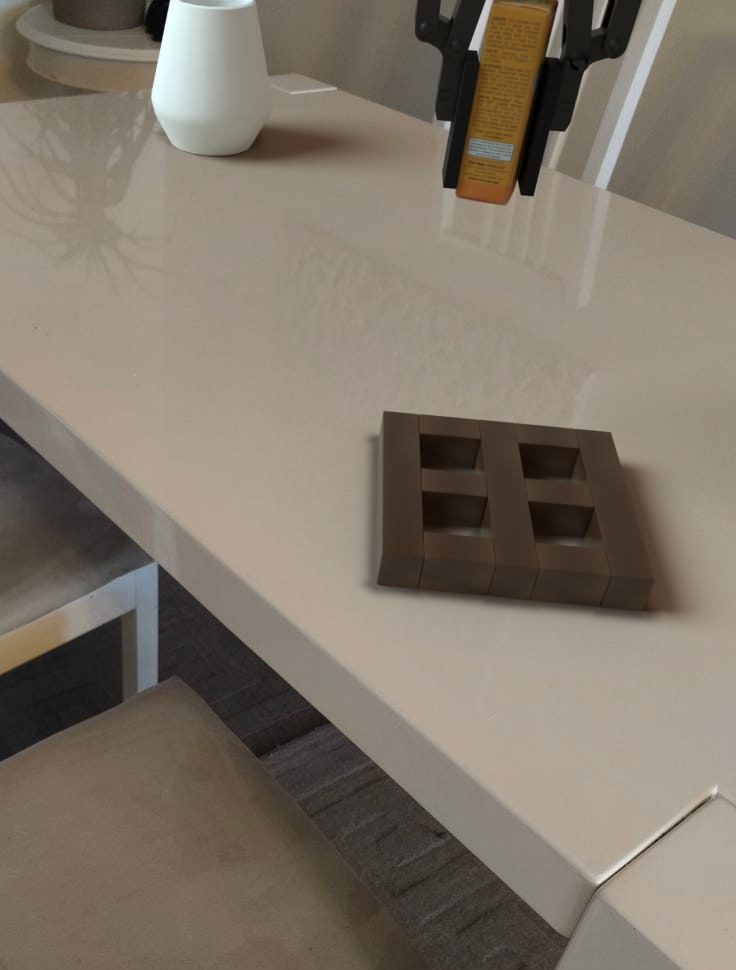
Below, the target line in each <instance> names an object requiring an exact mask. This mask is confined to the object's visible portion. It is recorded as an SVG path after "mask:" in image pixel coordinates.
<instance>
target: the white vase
mask: <svg viewBox="0 0 736 970" xmlns="http://www.w3.org/2000/svg"><path fill="white" fill-rule="evenodd" d="M261 31H262V30H261V25H260V20H259V14H258V8H257V2H256V0H169V4H168V9H167V15H166V19H165V25H164V30H163V35H162V39H161V44H160V49H159V54H158V60H157V63H156V70H155V74H154V79H153V84H152V88H151V96H150V97H151V103H152V108H153V112H154V114H155V116H156V118H157V120H158V122H159V123H160V125H161V127H162V129H163V131H164V132H165V134H166V136H167V138H168V140H169V141H170V142H169V143H171V145H172V146H174V147H175V148H176V149H178V150H180V151H183V152H187V153H190V154H193V155H200V156H208V157H212V156H213V157H215V156H221V157H222V156H223V157H224V156H231V155H238V154H240V153H243V152H245V151H247V150H249V149H250V148H251V147H252V145H253V143H254V142H255V140H256V139H257V137H258V135H259V133H260V132H261V130H262V128H263V127H264V126H265V123H267V121H268V119H269V117H270V115H271V113H272V109H273V97H272V90H271V85H270V79H269V72H268V67H267V61H266V55H265V49H264V44H263V38H262V37H263V36H262V32H261Z"/></svg>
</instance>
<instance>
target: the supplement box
mask: <svg viewBox="0 0 736 970" xmlns="http://www.w3.org/2000/svg"><path fill="white" fill-rule="evenodd" d="M558 7H559V0H493V2H492V4H491V5H490V10H489V11H490V12H489V15H488V20H487V23H486V29H485V34H484V39H483V44H482V49H481V53H480V57H479V58H480V59H479V63H480V64H479V69H478V75H477V80H476V85H475V90H474V96H473V101H472V106H471V112H470V117H469V122H468V128H467V133H466V138H465V143H464V149H463V154H462V159H461V165H460V170H459V175H458V180H457V186H456V189H455V192H454V193H455V196H456V197H455V198H458V199H461V200H466V201H470V202H476V203H483V204H488V205H489V204H490V205H494V206H507V205H508V204H509V202H510V200H511V198H512V196H513V194H514V192H515V189H516V187H517V184H518V181H517V178H518V174H519V170H520V165H521V161H522V157H523V152H524V148H525V143H526V139H527V135H528V131H529V127H530V122H531V118H532V113H533V109H534V105H535V101H536V97H537V92H538V88H539V84H540V80H541V76H542V72H543V67H544V63H545V58H546V57H547V53H548V49H549V45H550V42H551V37H552V33H553V28H554V24H555V19H556V16H557V11H558Z"/></svg>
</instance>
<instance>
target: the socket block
mask: <svg viewBox="0 0 736 970" xmlns="http://www.w3.org/2000/svg"><path fill="white" fill-rule="evenodd" d="M377 445H378V446H377V456H378V457H377V503H376V504H377V508H376V509H377V510H376V512H377V513H376V516H377V517H376V572H375V573H376V575H375V576H376V578H375V584H376V585H377V586H384V587H385V586H387V587H395V588H404V589H413V590H414V589H418V590H424V591H433V592H435V591H436V592H443V593H454V594H463V595H472V596H473V595H474V596H484V597H486V596H487V597H494V598H503V599H504V598H505V599H512V600H513V599H514V600H524V601H533V602H544V603H555V604H564V605H575V606H582V607H592V608H603V609H612V610H613V609H614V610H622V611H624V610H625V611H631V612H632V611H633V612H642V611H643V609H644V608H645V604H646V603H647V600H648V598H649V595H650V594H651V591H652V589H653V587H654V585H655V582H656V578H655V574H654V572H653V571H654V570H653V568H652V565H651V561H650V558H649V555H648V551H647V548H646V545H645V541H644V537H643V535H642V532H641V527H640V524H639V521H638V517H637V514H636V511H635V508H634V505H633V504H634V503H633V501H632V497H631V495H630V491H629V488H628V484H627V481H626V478H625V475H624V471H623V467H622V464H621V460H620V458H619V454H618V450H617V447H616V444H615V441H614V437H613V434H612V432H611V431H605V430H604V431H603V430H593V429H585V428H584V429H583V428H573V427H562V426H561V427H560V426H552V425H540V424H531V423H520V422H510V421H499V420H488V419H476V418H475V419H474V418H466V417H458V416H457V417H455V416H445V415H434V414H424V413H413V412H411V413H410V412H401V411H390V410H383V411H382V417H381V422H380V429H379V435H378V443H377ZM422 465H427V466H438V467H448V468H450V467H451V468H457V469H459V468H460V469H468V470H473V472H464V471H454V470H453V471H452V470H443V469H433V468H422ZM524 475H531V476H540V477H553V478H561V479H562V478H563V479H564V478H565V479H569V480H570V482H567V481H557V480H547V479H537V478H526V477H524ZM424 523H428V524H438V525H446V526H447V525H448V526H459V527H469V528H477V529H478V528H479V530H480V536H475V535H465V534H453V533H445V532H435V531H424ZM535 534H540V535H548V536H549V535H550V536H560V537H570V538H578V539H579V538H581V539H583V541H584V545H585V546H574V545H564V544H554V543H544V542H536V540H535Z"/></svg>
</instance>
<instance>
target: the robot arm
mask: <svg viewBox="0 0 736 970" xmlns="http://www.w3.org/2000/svg"><path fill="white" fill-rule="evenodd" d="M486 2H487V0H455V3H454V6H453V10H452V13H451V16H450V18H448V17H447V16H444V15H443V14H441V3H442V0H416V3H415V12H414V35H415V37H416V39H417V40H418V41H419V42H421V43H427V44H429V45H431V46H432V47H434V48H436V49H437V50H438V51H439V52H440V55H441V61H440V68H439V72H438V73H439V74H438V80H437V86H436V92H435V98H434V113H435V117H436V121H441V122H450V124H449V130H448V136H447V142H446V146H445V147H446V148H445V153H444V158H443V163H442V170H441V177H442V178H441V179H442V188H443V189H450V190H456V186H457V180H458V175H459V170H460V165H461V159H462V154H463V149H464V143H465V138H466V133H467V128H468V122H469V117H470V112H471V106H472V101H473V96H474V90H475V85H476V80H477V75H478V69H479V64H480V59H479V58H480V57H479V53H478V50H476V49H475V50H474V49H470V46H471V43H472V40H473V38H474V35H475V32H476V29H477V26H478V24H479V21H480V18H481V15H482V12H483V10H484V7H485V4H486ZM642 2H643V0H607V3H606V5H605V8H604V12H603V16H602V19H601V22H600V25H599V27H597V28H594V29H593V19H594V18H593V17H594V6H595V0H563V12H562V26H561V43H560V46H561V47H560V50H561V51H560V55H559V57H554V56H553V57H552V56H546V58H545V63H544V67H543V72H542V76H541V80H540V84H539V88H538V92H537V97H536V101H535V105H534V109H533V113H532V118H531V122H530V127H529V131H528V135H527V139H526V143H525V148H524V152H523V157H522V161H521V165H520V170H519V174H518V178H517V185H518V189H519V194H520V196H522V197H535V192H536V188H537V184H538V180H539V176H540V173H541V168H542V164H543V160H544V157H545V153H546V152H545V151H546V147H547V143H548V140H549V135H550V132H559V133H560V132H561V133H562V132H564V133H565V132H566V131H567V129H568V128H569V126H570V125H571V123H572V120H573V116H574V112H575V107H576V104H577V99H578V97H579V92H580V88H581V84H582V81H583V76H584V74H585V72H586V71H587V70H588V69H589V67H590V65H592V64H593V63H596V62H599V61H603V60H606V59H610V60H616V59H619V58H621V57H622V56H623V55H624V54H625V53H626V51H627V49H628V46H629V42H630V40H631V36H632V33H633V30H634V28H635V24H636V21H637V18H638V15H639V12H640V9H641V5H642Z"/></svg>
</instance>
